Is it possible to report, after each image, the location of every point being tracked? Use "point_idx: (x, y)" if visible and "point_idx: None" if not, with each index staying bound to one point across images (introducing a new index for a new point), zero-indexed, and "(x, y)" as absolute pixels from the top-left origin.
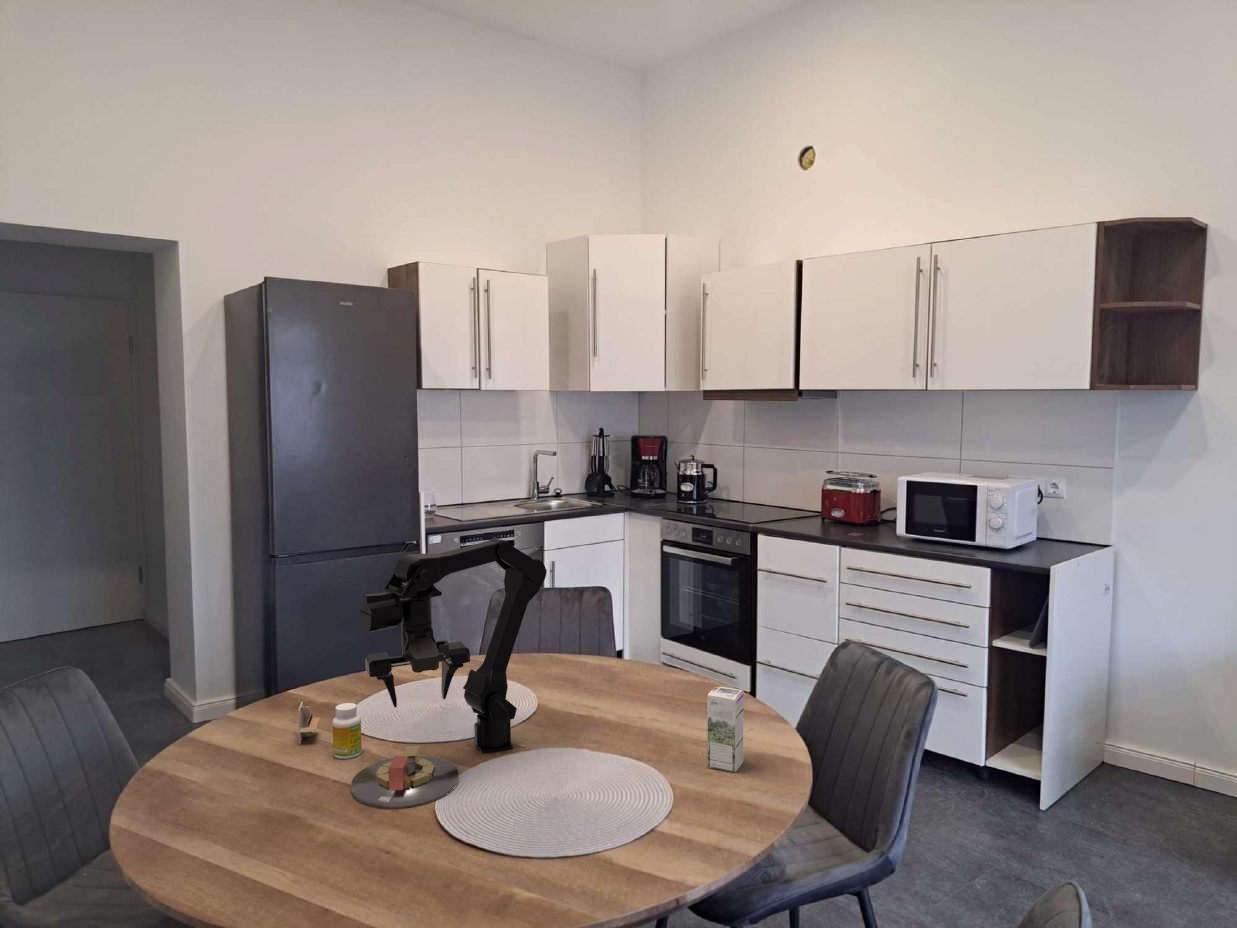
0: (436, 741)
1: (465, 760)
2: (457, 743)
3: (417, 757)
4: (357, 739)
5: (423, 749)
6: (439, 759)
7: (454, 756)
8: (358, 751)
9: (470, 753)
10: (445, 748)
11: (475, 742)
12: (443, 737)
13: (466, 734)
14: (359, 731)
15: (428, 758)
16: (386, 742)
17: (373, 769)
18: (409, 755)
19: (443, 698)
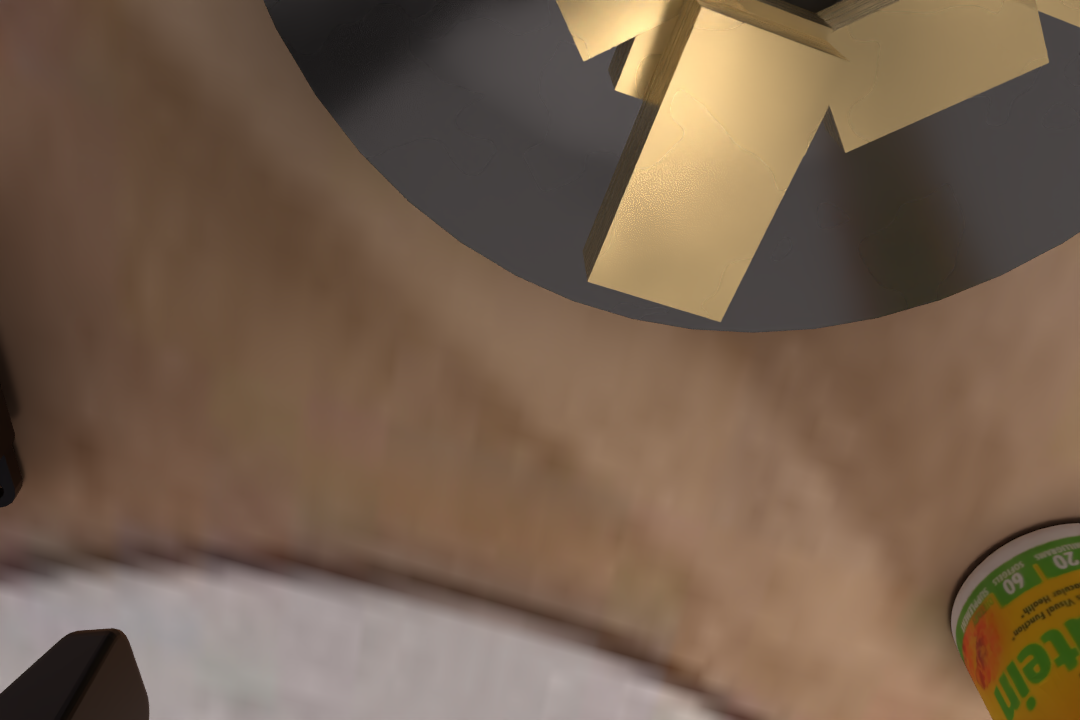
0: (363, 591)
1: (122, 140)
2: (190, 508)
3: None
4: (1063, 643)
5: (488, 491)
6: (385, 140)
7: (229, 268)
8: (1008, 568)
9: (70, 279)
10: (301, 451)
11: (2, 410)
12: (300, 637)
13: None
14: (1066, 709)
15: (492, 203)
16: (734, 681)
17: (1055, 152)
18: (765, 43)
19: (117, 636)
